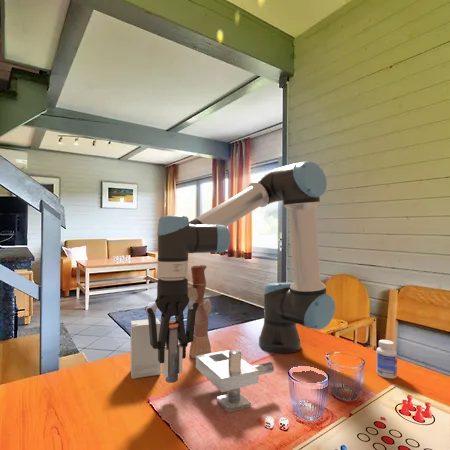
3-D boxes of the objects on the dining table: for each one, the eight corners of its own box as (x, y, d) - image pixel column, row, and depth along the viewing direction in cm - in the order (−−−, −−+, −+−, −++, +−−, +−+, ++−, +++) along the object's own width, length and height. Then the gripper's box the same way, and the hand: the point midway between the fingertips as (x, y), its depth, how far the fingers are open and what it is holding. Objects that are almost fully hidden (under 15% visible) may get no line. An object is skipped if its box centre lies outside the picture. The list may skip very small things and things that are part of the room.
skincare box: (157, 367, 93) (159, 317, 93) (160, 375, 87) (162, 322, 88) (128, 370, 90) (130, 319, 90) (129, 380, 84) (131, 325, 85)
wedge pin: (163, 378, 76) (163, 321, 77) (176, 375, 78) (176, 319, 78) (167, 384, 73) (167, 325, 74) (180, 381, 75) (181, 323, 75)
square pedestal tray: (195, 386, 81) (196, 340, 82) (246, 374, 89) (247, 332, 90) (221, 415, 69) (222, 360, 69) (277, 398, 76) (278, 349, 77)
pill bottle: (399, 380, 88) (399, 345, 88) (379, 378, 89) (379, 343, 89) (393, 372, 93) (393, 339, 94) (374, 370, 94) (374, 337, 95)
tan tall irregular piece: (206, 349, 108) (209, 263, 109) (216, 356, 102) (218, 265, 103) (178, 354, 103) (181, 264, 104) (187, 362, 97) (189, 266, 98)
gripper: (144, 282, 69) (143, 388, 69) (208, 277, 77) (207, 372, 76) (136, 278, 76) (135, 374, 75) (196, 274, 83) (195, 361, 83)
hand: (171, 373), depth 76 cm, fingers closed on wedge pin, 3 cm apart
